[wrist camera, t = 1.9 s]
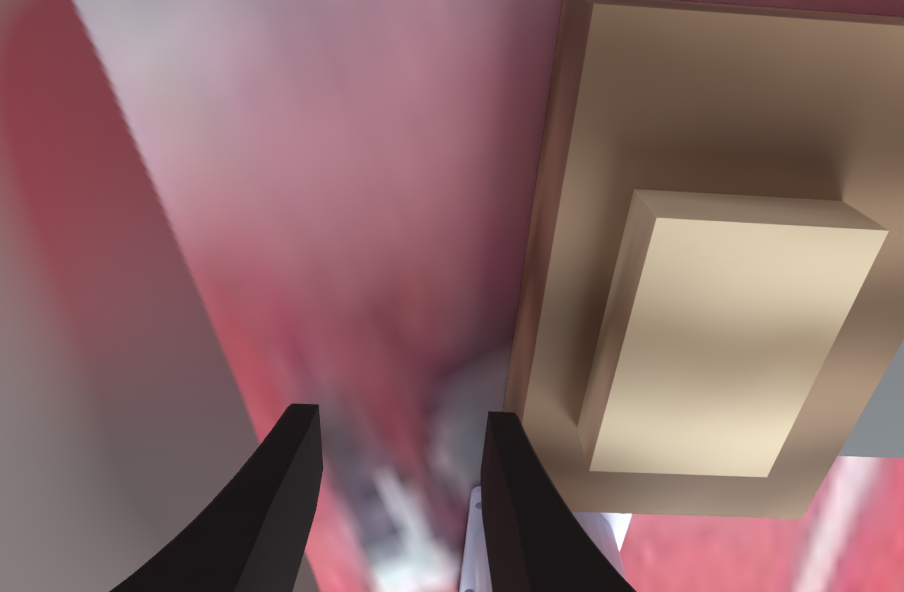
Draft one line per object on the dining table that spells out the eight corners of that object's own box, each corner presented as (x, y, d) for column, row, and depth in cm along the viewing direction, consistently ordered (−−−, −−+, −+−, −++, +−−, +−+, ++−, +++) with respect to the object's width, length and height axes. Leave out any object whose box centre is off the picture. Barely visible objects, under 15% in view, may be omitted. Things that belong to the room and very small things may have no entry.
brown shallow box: (755, 446, 27) (801, 519, 24) (498, 436, 26) (507, 509, 23) (952, 20, 18) (1075, 38, 14) (563, -8, 17) (593, 3, 14)
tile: (740, 434, 21) (766, 477, 19) (576, 427, 21) (588, 470, 19) (842, 201, 16) (889, 230, 15) (633, 188, 16) (656, 217, 14)
